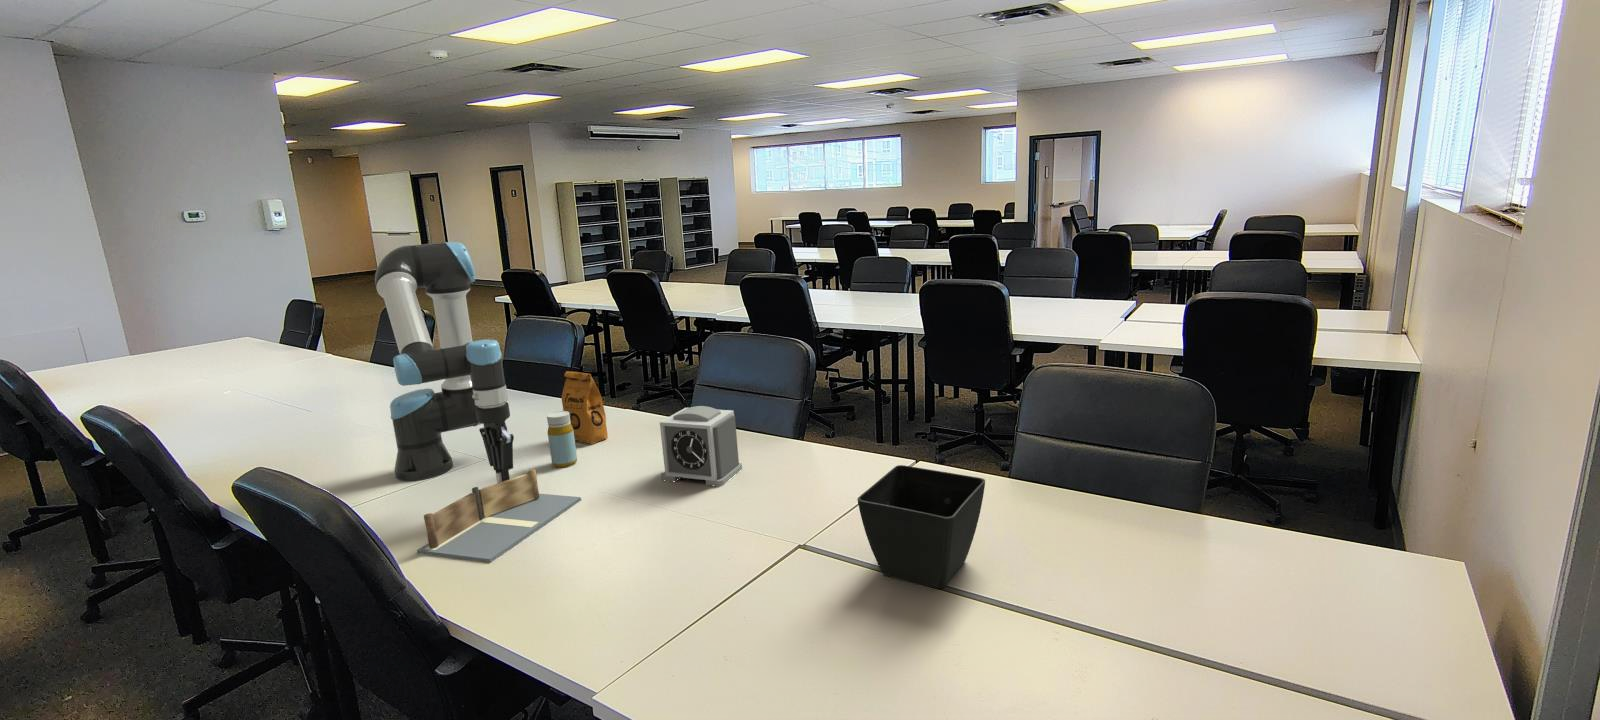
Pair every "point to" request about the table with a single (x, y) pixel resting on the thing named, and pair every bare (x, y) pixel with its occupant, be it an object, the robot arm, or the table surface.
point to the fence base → (453, 518)
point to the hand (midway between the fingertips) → (505, 494)
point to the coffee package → (584, 407)
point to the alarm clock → (700, 445)
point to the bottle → (561, 439)
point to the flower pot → (921, 522)
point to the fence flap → (509, 493)
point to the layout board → (502, 529)
